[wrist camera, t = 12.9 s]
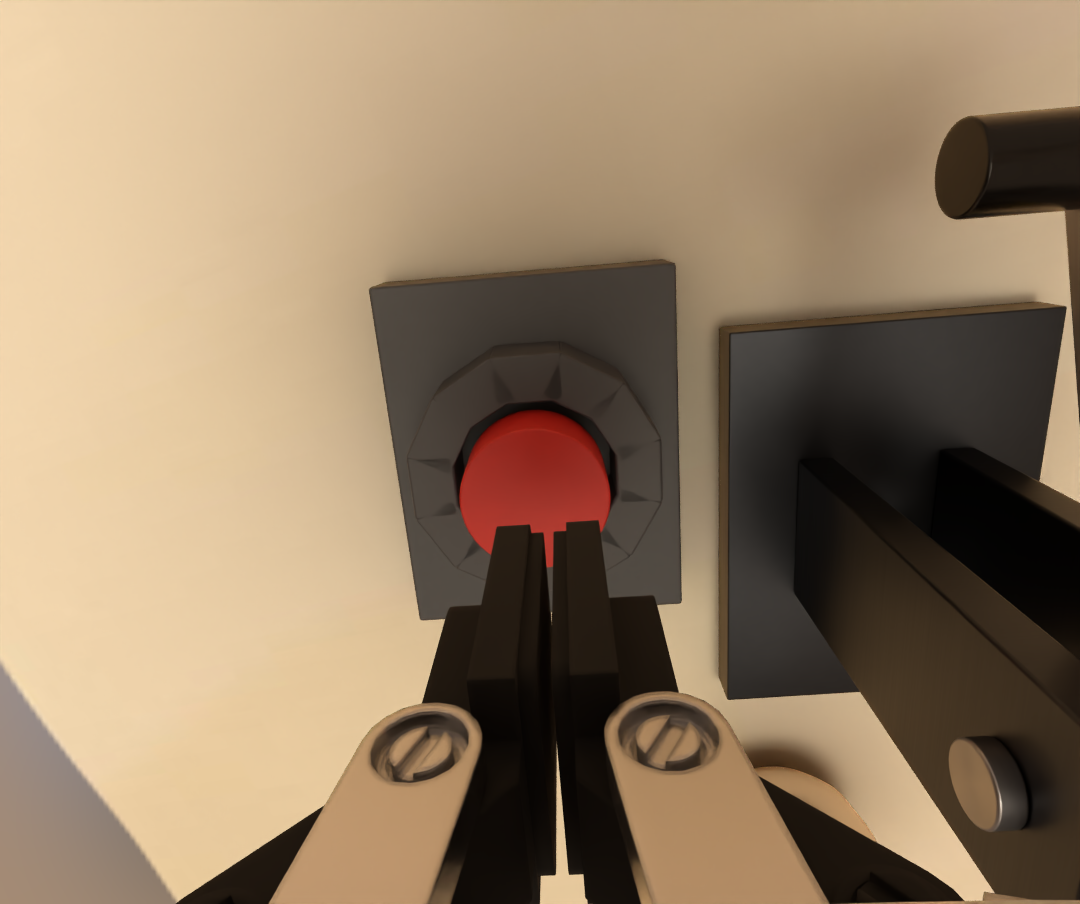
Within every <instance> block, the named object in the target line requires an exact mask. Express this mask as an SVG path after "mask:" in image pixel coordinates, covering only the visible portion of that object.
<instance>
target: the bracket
mask: <svg viewBox="0 0 1080 904" xmlns="http://www.w3.org/2000/svg"><path fill="white" fill-rule="evenodd" d="M1066 309H1067V308H1066V307H1065V306H1060V305H1054V304H1048V303H1042V302H1027V303H1014V304H1002V305H989V306H977V307H964V308H951V309H939V310H926V311H913V312H901V313H888V314H876V315H863V316H850V317H838V318H825V319H812V320H800V321H787V322H774V323H762V324H749V325H737V326H724V327H720V329H719V679H720V681H721V684H722V687H723V689H724V692H725V694H726V697H727V699H728V700H734V699H751V698H767V697H783V696H800V695H816V694H832V693H848V692H861V694H862V695H863V697H864V698H865V700H866V701H867V703H868V704H869V706H870V707H871V709H872V710H873V712H874V713H875V715H876V716H877V718H878V719H879V721H880V722H881V724H882V725H883V727H884V728H885V730H886V731H887V733H888V734H889V736H890V737H891V739H892V740H893V742H894V743H895V745H896V746H897V748H898V749H899V751H900V752H901V754H902V755H903V757H904V758H905V760H906V761H907V763H908V764H909V766H910V767H911V769H912V770H913V771H914V773H915V774H916V776H917V777H918V779H919V780H920V782H921V783H922V785H923V786H924V788H925V789H926V791H927V792H928V794H929V795H930V797H931V798H932V800H933V801H934V803H935V804H936V806H937V807H938V809H939V810H940V812H941V813H942V815H943V816H944V818H945V819H946V821H947V822H948V824H949V825H950V827H951V828H952V830H953V831H954V833H955V834H956V836H957V837H958V839H959V840H960V842H961V843H962V845H963V846H964V848H965V849H966V851H967V852H968V854H969V855H970V857H971V858H972V860H973V861H974V862H975V864H976V865H977V867H978V868H979V870H980V871H981V873H982V874H983V876H984V877H985V879H986V880H987V882H988V883H989V885H990V886H991V888H992V889H993V891H994V892H995V894H1001V895H1007V896H1013V897H1019V898H1025V899H1031V900H1080V503H1079V502H1077V501H1075V500H1073V499H1071V498H1069V497H1067V496H1065V495H1064V494H1062V493H1060V492H1058V491H1056V490H1054V489H1052V488H1050V487H1048V486H1046V485H1045V484H1043V483H1041V482H1039V480H1040V474H1041V467H1042V461H1043V455H1044V448H1045V442H1046V436H1047V429H1048V423H1049V417H1050V410H1051V404H1052V398H1053V391H1054V385H1055V379H1056V372H1057V366H1058V359H1059V353H1060V347H1061V340H1062V334H1063V328H1064V321H1065V315H1066Z"/></svg>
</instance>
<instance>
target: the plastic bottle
mask: <svg viewBox="0 0 1080 904" xmlns="http://www.w3.org/2000/svg"><path fill="white" fill-rule="evenodd" d="M754 769H755V771H756V773H757V774H758V776H760V777H762V778H764V779H765V780H767V781H769V782H771V783H772V784H774V785H776V786H778V787H779V788H781V789H783V790H785V791H786V792H788V793H790V794H792V795H794V796H795V797H797V798H799V799H801V800H802V801H804V802H806V803H808V804H809V805H811V806H813V807H815V808H817V809H818V810H820V811H822V812H824V813H825V814H827V815H829V816H831V817H832V818H834V819H836V820H838V821H840V822H841V823H843V824H845V825H847V826H848V827H850V828H852V829H854V830H855V831H857V832H859V833H861V834H862V835H864V836H866V837H868V838H870V839H871V840H873V841H875V842H876V839H875V837H874V835H873V834H872V833H871V831H870V830H869V828H868V827H867V825H866V824H865V823H864V821H863V820H862V819H861V818H860V816H859V815H858V814H857V812H856V811H855V810H854V809H853V807H852V806H851V805H850V804H849V802H848V801H847V800H846V799H845V797H844V796H843V795H842V794H841V793H839V792H838V791H837V790H836V789H835V788H834V787H833V786H831V785H829V784H828V783H826V782H824V781H822V780H821V779H819V778H816V777H814V776H811V775H809V774H807V773H804V772H801V771H798V770H795V769H792V768H785V767H778V766H774V767H759V768H754Z"/></svg>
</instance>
